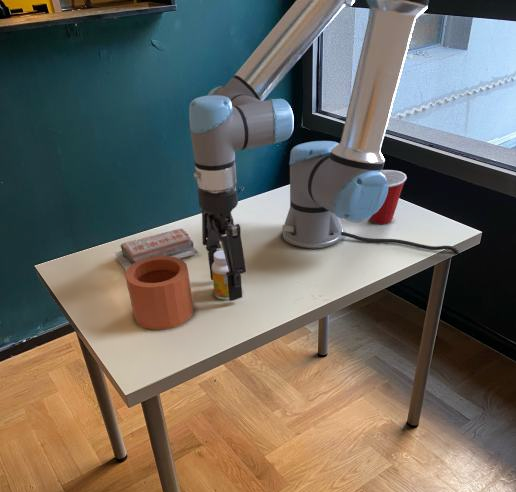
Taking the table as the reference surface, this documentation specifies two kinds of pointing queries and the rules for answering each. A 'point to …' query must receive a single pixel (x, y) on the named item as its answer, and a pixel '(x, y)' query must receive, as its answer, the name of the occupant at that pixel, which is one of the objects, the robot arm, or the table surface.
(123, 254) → the packaged product
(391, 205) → the plastic cup
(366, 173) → the robot arm
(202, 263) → the table surface
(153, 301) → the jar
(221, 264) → the supplement bottle
